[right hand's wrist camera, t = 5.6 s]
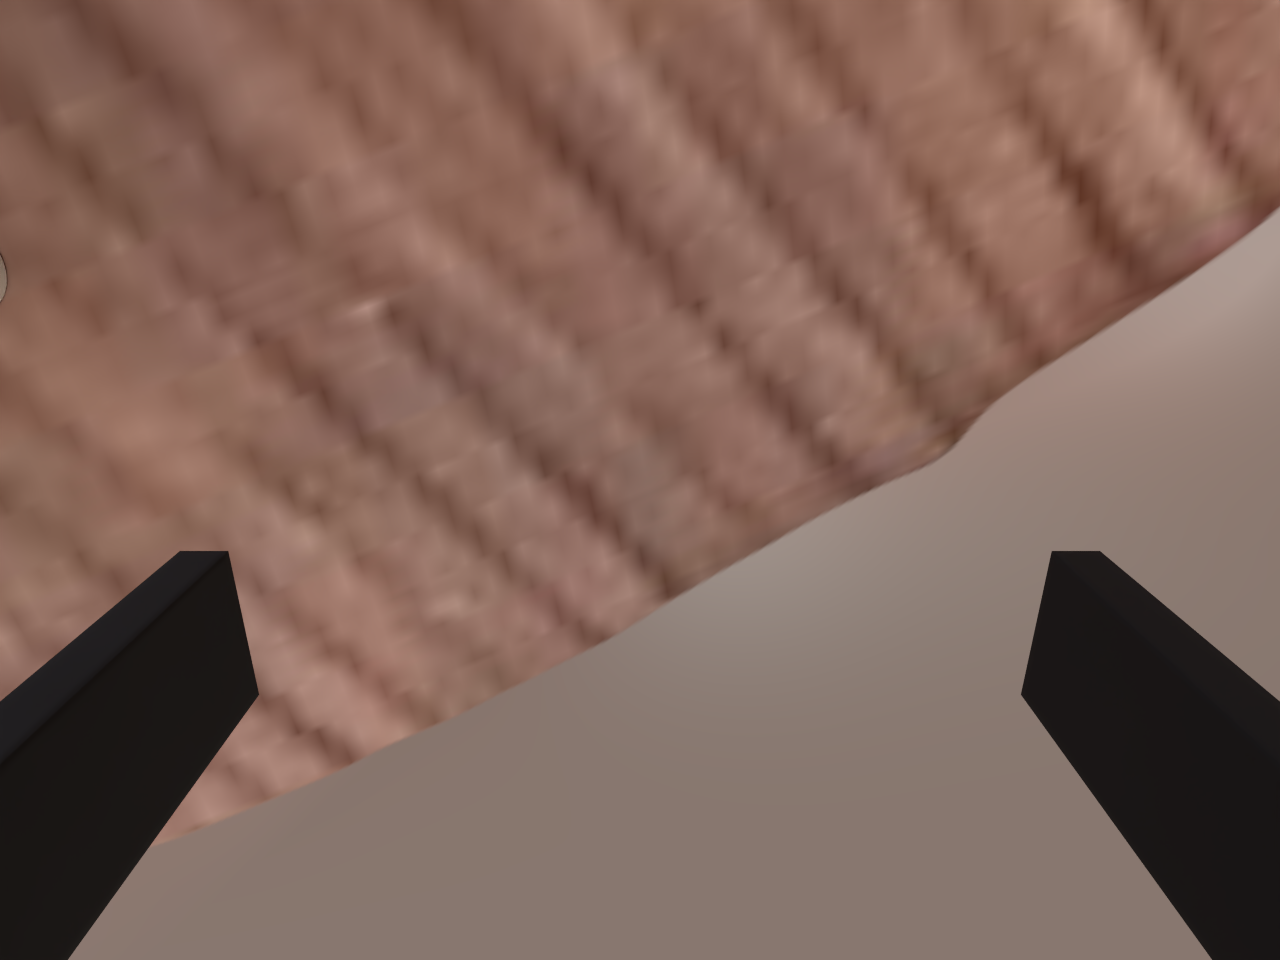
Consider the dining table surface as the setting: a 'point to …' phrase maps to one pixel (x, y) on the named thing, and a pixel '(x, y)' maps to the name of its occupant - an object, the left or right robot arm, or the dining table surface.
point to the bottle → (2, 278)
